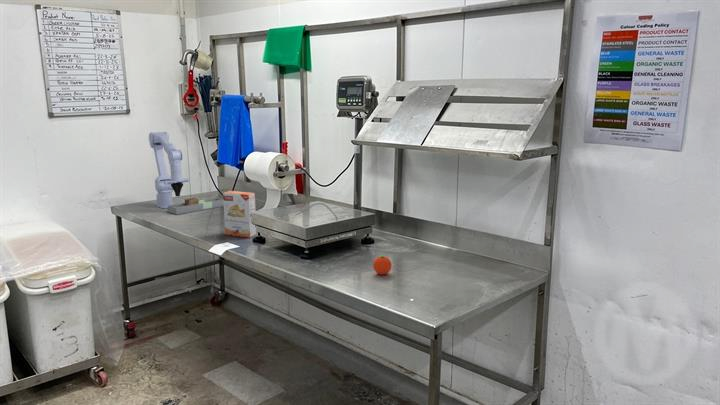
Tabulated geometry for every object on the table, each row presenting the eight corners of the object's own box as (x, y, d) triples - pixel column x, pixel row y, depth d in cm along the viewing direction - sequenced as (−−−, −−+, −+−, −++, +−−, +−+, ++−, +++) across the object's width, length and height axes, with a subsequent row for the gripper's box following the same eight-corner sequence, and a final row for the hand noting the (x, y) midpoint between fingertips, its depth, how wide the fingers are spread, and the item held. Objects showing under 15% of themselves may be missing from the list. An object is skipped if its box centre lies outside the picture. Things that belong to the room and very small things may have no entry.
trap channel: (166, 211, 296) (166, 205, 296) (215, 203, 320) (215, 197, 319) (177, 215, 289) (177, 208, 288) (226, 206, 312) (226, 199, 312)
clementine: (372, 270, 201) (372, 252, 199) (390, 270, 201) (390, 252, 200) (373, 277, 193) (374, 259, 191) (392, 277, 193) (392, 258, 192)
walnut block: (184, 206, 301) (184, 199, 300) (194, 204, 305) (193, 197, 304) (189, 207, 298) (189, 200, 297) (199, 205, 302) (198, 198, 301)
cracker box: (224, 235, 248) (222, 192, 244) (231, 232, 254) (229, 190, 250) (250, 238, 244) (248, 194, 239) (256, 235, 249) (255, 192, 245)
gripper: (167, 174, 283) (169, 198, 286) (191, 171, 294) (193, 195, 296) (161, 173, 287) (162, 197, 290) (184, 170, 298) (186, 193, 301)
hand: (177, 196), depth 294 cm, fingers closed
